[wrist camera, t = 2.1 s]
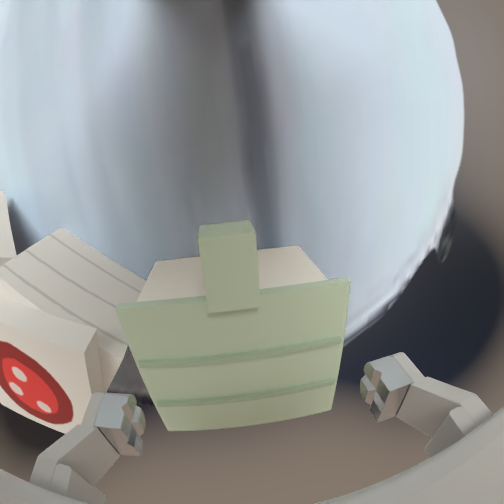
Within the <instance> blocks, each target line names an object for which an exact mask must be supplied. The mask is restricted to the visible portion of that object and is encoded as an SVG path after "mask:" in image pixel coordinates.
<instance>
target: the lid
mask: <svg viewBox="0 0 504 504" xmlns="http://www.w3.org/2000/svg"><path fill="white" fill-rule="evenodd" d="M197 239H198V246H199V253H200V260H201V267H202V273H203V280H204V286H205V292H206V295H205V296H195V297H185V298H175V299H164V300H153V301H141V302H128V303H119V304H118V305H117V307H116V312H117V315H118V318H119V321H120V324H121V327H122V330H123V332H124V335H125V338H126V340H127V343H128V346H129V348H130V351H131V353H132V356H133V358H134V361H135V363H136V366H137V368H138V370H139V373H140V375H141V377H142V379H143V382H144V384H145V386H146V388H147V390H148V392H149V395H150V397H151V399H152V401H153V403H154V405H155V407H156V409H157V411H158V413H159V415H160V416H161V419H162V420H163V422H164V424H165V426H166V428H167V430H168V431H192V430H211V429H224V428H234V427H243V426H251V425H258V424H265V423H271V422H277V421H282V420H288V419H293V418H298V417H302V416H307V415H312V414H316V413H320V412H324V411H328V410H331V407H332V403H333V398H334V393H335V388H336V383H337V378H338V372H339V366H340V361H341V355H342V348H343V342H344V335H345V328H346V320H347V312H348V303H349V293H350V283H351V282H350V281H349V280H348V279H347V278H346V277H342V278H336V279H329V280H323V281H316V282H309V283H302V284H295V285H288V286H280V287H273V288H265V289H260V287H259V272H258V257H257V243H256V231H255V230H254V228H253V226H252V224H251V222H250V220H245V221H236V222H226V223H217V224H208V225H200V228H199V233H198V238H197Z"/></svg>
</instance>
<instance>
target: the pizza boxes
mask: <svg viewBox="0 0 504 504" xmlns="http://www.w3.org/2000/svg"><path fill="white" fill-rule="evenodd" d="M145 283H146V280H144V279H143V278H141V277H139V276H137V275H136V274H134V273H132V272H131V271H129V270H127V269H126V268H124V267H122V266H121V265H119V264H117V263H116V262H114V261H113V260H111V259H109V258H108V257H106V256H105V255H103V254H101V253H100V252H98V251H97V250H95V249H94V248H92V247H91V246H89V245H87V244H86V243H84V242H83V241H81V240H80V239H78V238H77V237H75V236H74V235H72V234H71V233H69V232H68V231H67V230H65V229H64V228H62V227H61V228H59V229H58V230H56V231H54V232H53V233H51V234H49V235H48V236H46V237H45V238H43V239H41V240H40V241H38V242H37V243H35V244H33V245H32V246H30V247H29V248H27V249H26V250H24V251H23V252H21V253H20V254H18V255H17V254H16V250H15V246H14V241H13V236H12V231H11V226H10V220H9V214H8V208H7V201H6V192H5V191H0V402H1V404H2V405H4V406H6V407H8V408H10V409H12V410H14V411H15V412H18V413H20V414H21V415H23V416H25V417H27V418H30V419H32V420H34V421H36V422H38V423H41V424H43V425H45V426H47V427H50V428H52V429H55V430H57V431H60V432H62V433H65V434H66V433H68V432H69V431H70V430H71V429H73V428H74V427H75V426H76V425H77V424H79V425H81V423H82V420H83V417H84V414H85V412H86V409H87V406H88V404H89V401H90V398H91V396H92V394H93V393H94V392H104V393H106V392H107V390H108V388H109V386H110V384H111V382H112V380H113V378H114V376H115V374H116V372H117V370H118V368H119V366H120V364H121V362H122V360H123V358H124V355H125V352H126V350H127V347H128V343H127V340H126V338H125V335H124V332H123V330H122V327H121V324H120V321H119V318H118V315H117V312H116V307H117V305H118V304H119V303H128V302H137V300H138V298H139V295H140V293H141V291H142V289H143V287H144V285H145Z"/></svg>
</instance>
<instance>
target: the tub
mask: <svg viewBox="0 0 504 504" xmlns="http://www.w3.org/2000/svg"><path fill="white" fill-rule="evenodd" d="M257 257H258V272H259V287H260V289H265V288H273V287H280V286H288V285H295V284H302V283H309V282H316V281H323V280H327V278H326V277H325V276H324V275H323V274H322V272H321V271H320V270H319V269H318V268H317V267H316V265H315V264H314V263H313V262H312V261H311V260H310V258H309V257H308V256H307V255H306V254H305V253H304V252H303V250H302V249H301V248H300V247H299V246H298V245H297V246H288V247H279V248H270V249H261V250H257ZM205 295H206V292H205V286H204V280H203V273H202V267H201V260H200V256H198V257H189V258H180V259H171V260H162V261H156V262H155V264H154V266H153V268H152V270H151V272H150V274H149V276H148V278H147V281H146V283H145V285H144V287H143V289H142V291H141V293H140V295H139V298H138V300H137V302H141V301H153V300H164V299H175V298H185V297H195V296H205Z"/></svg>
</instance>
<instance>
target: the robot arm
mask: <svg viewBox="0 0 504 504" xmlns="http://www.w3.org/2000/svg"><path fill="white" fill-rule="evenodd" d="M364 372H365V376H364V377H363V378H362V379H361V383H360V391H361V395H362V397H363V399H364V401H365V402H366V403H368V404H371V406H370V412H371V414H372V415H373V417H374V419H375V421H376V422H380V421H383V420H386V419H389V418H391V417H394V416H396V417H397V418H399V419H401V420H402V421H404V422H406V423H407V424H409V425H411V426H413V427H414V428H416V429H418V430H420V431H421V432H423V433H425V434H426V435H428V436H430V437H432V439H431V440H430V441H429V443H428V444H427V445H426V447H425V452H426V453H427V455H428V457H429V459H427V460H425V461H423V462H421V463H420V464H418V465H416V466H414V467H412V468H410V469H408V470H406V471H404V472H402V473H399V474H397V475H395V476H393V477H391V478H388V479H386V480H384V481H381V482H379V483H377V484H374V485H371V486H369V487H366V488H363V489H361V490H358V491H355V492H352V493H350V494H346V495H343V496H340V497H337V498H333V499H330V500H326V501H323V502H319V503H315V504H504V406H503V407H502V408H501V409H500V410H498V411H497V412H496V413H495V414H494V415H493V414H492V413H491V412H490V410H489V409H488V408H487V407H486V406H485V404H484V403H483V402H482V401H481V400H480V399H479V397H478V396H477V395H476V394H474V393H471V392H468V391H465V390H462V389H459V388H456V387H454V386H451V385H448V384H446V383H443V382H440V381H438V380H435V379H433V378H430V377H426V378H425V377H424V376H423V375H422V374H421V372H420V371H419V370H418V369H417V368H416V367H415V365H414V364H413V363H412V362H411V360H410V359H409V358H408V357H407V356H406V355H405V354H404V353H402V352H400V353H397V354H394V355H391V356H387V357H384V358H381V359H378V360H375V361H372V362H368V363H367V364H366V365H365V367H364ZM136 403H137V400H136V398H135V396H134V395H132V394H119V393H104V392H94V393H93V394H92V396H91V398H90V401H89V404H88V406H87V409H86V412H85V414H84V417H83V420H82V423H81V425H79V424H77V425H76V426H75V427H74V428H73V429H71V430H70V431H69V432H68V433H66V434H65V435H64V436H62V437H61V438H60V439H59V440H57V441H56V442H55V443H54V444H52V445H51V446H50V447H49V448H47V449H46V450H45V451H43V452H42V453H41V454H40V455H38V458H37V460H36V463H35V466H34V469H33V473H32V475H31V479H30V482H26V481H24V480H22V479H20V478H18V477H16V476H14V475H11V474H9V473H7V472H5V471H3V470H2V469H0V504H105V496H104V494H103V493H101V492H100V491H99V490H97V489H96V488H95V487H94V486H95V485H96V484H97V483H98V481H99V480H100V479H101V478H102V477H103V476H104V474H105V473H106V472H107V471H108V469H109V468H110V467H111V466H112V465H113V464H114V462H115V461H116V460H117V459H118V457H119V456H120V455H131V456H141V453H142V446H143V441H142V439H141V437H140V436H141V435H142V434H143V433H144V432H145V426H146V425H145V417H144V413H143V411H142V409H141V408H140V407H138V406H137V405H136Z"/></svg>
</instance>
